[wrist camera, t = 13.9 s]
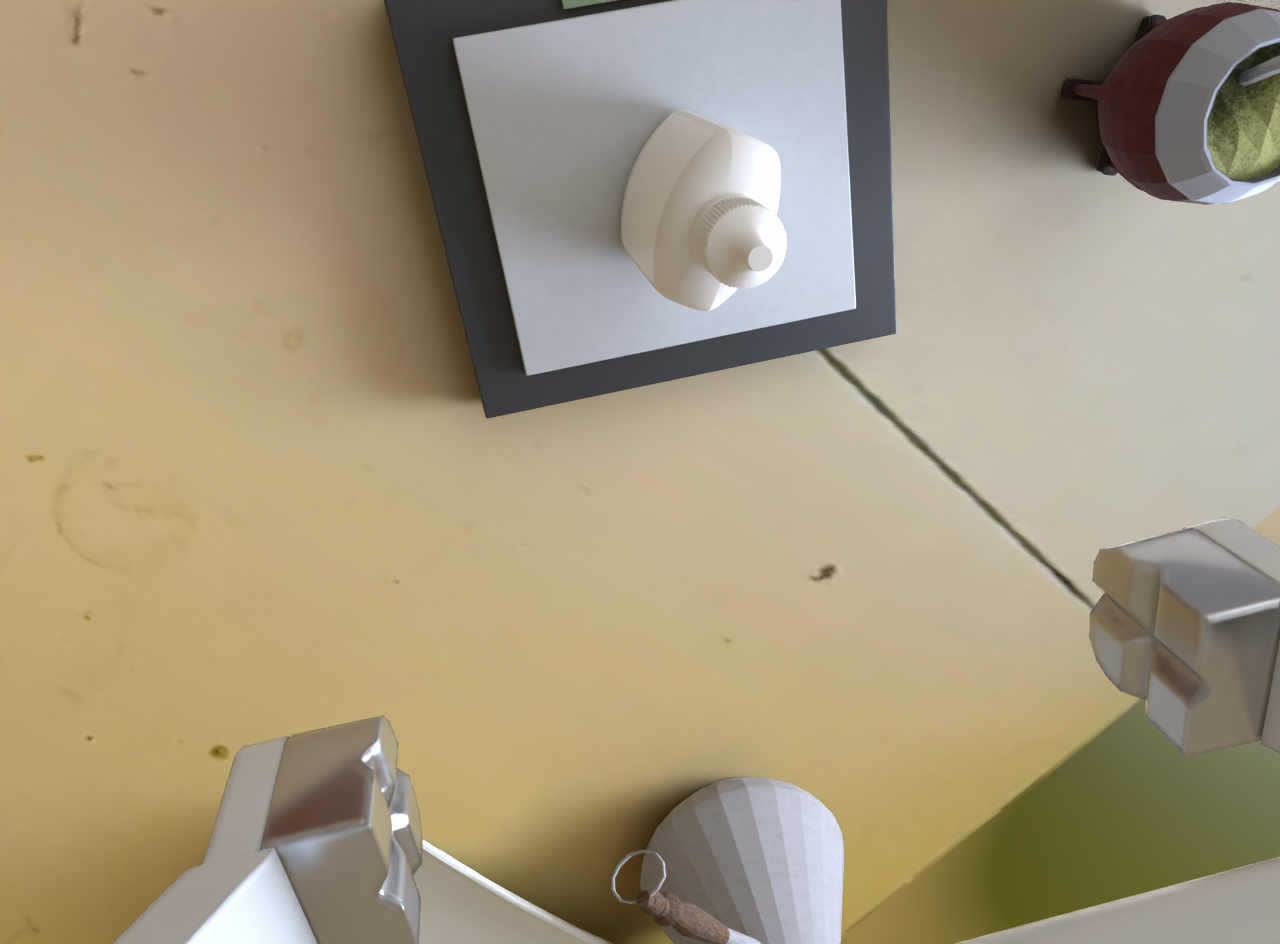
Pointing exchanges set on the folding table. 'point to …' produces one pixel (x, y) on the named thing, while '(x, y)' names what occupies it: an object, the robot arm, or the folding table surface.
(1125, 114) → the mate gourd
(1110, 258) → the folding table surface
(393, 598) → the folding table surface
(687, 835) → the coffee pot
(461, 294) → the scale
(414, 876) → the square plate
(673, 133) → the eye dropper bottle
